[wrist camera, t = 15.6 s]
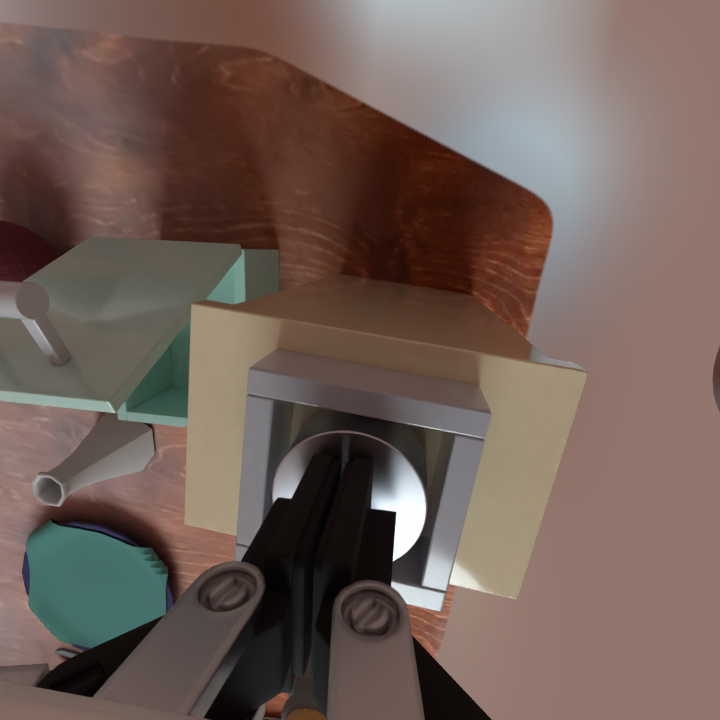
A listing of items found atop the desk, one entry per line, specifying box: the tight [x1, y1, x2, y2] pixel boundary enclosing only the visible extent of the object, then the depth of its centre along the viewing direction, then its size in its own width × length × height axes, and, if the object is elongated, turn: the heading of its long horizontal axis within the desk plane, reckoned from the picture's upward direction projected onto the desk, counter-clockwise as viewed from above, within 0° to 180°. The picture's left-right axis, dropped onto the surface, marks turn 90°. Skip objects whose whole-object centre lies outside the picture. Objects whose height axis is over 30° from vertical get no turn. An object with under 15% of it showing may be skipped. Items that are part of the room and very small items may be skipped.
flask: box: [32, 412, 155, 507], centre depth 40 cm, size 7×7×10 cm
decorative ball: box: [0, 221, 60, 282], centre depth 37 cm, size 10×10×10 cm
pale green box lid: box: [0, 237, 242, 413], centre depth 23 cm, size 16×12×5 cm
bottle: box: [281, 650, 326, 720], centre depth 39 cm, size 6×6×15 cm
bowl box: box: [117, 248, 279, 427], centre depth 36 cm, size 15×12×8 cm
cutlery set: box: [22, 519, 174, 668], centre depth 51 cm, size 20×30×2 cm, turn 168°
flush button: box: [272, 409, 428, 561], centre depth 12 cm, size 4×4×2 cm
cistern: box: [184, 274, 588, 612], centre depth 25 cm, size 9×13×27 cm
